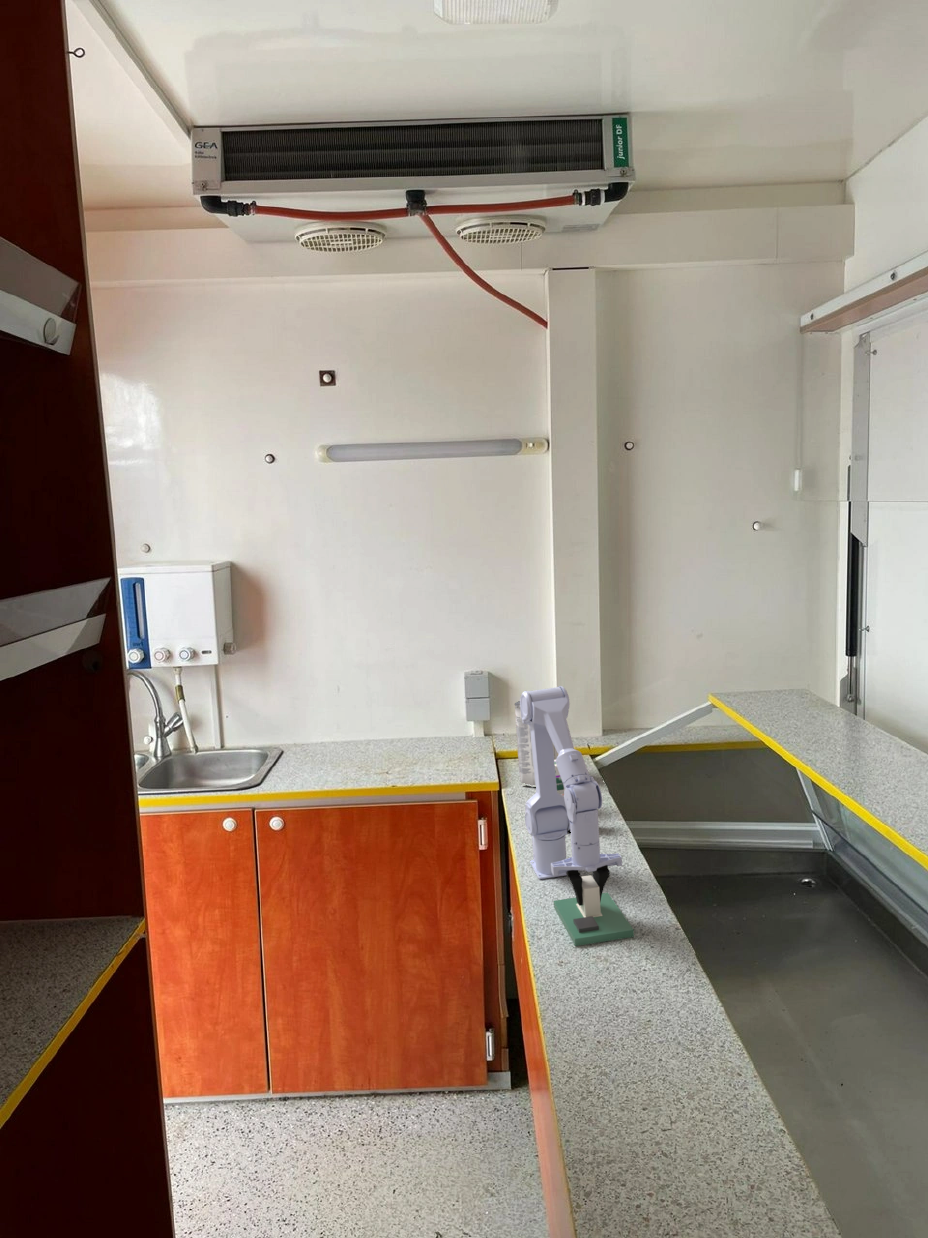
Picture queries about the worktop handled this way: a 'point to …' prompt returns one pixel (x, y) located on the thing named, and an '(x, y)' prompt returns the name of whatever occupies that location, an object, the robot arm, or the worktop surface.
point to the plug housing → (590, 897)
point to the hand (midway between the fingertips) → (588, 902)
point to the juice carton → (525, 749)
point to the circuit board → (593, 921)
